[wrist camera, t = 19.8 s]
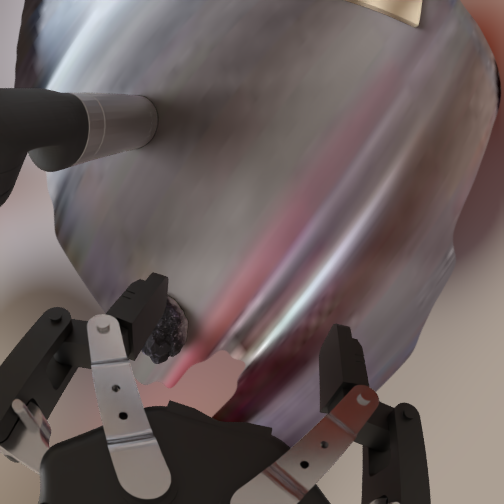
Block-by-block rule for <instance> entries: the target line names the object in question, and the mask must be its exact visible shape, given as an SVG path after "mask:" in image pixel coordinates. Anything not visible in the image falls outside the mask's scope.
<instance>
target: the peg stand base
mask: <svg viewBox="0 0 504 504" xmlns="http://www.w3.org/2000/svg"><path fill="white" fill-rule="evenodd" d="M345 1H348V2H351V3H354V4H358V5H360V6H363V7H366V8H369V9H372V10H375V11H377V12H380V13H382V14H385V15H387V16H390V17H392V18H395V19H397V20H399V21H402V22H404V23H406V24H408V25H410V26H413V27H415V28H416V27H417V26H418V25H419V19H420V13H421V6H422V0H345Z"/></svg>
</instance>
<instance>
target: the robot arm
mask: <svg viewBox="0 0 504 504" xmlns="http://www.w3.org/2000/svg"><path fill="white" fill-rule="evenodd" d="M157 123H158V117H157V112H156V109H155V107H154V105H153V104H152V102H151V101H150V100H148V99H147V98H145V97H143V96H137V95H126V94H110V93H60V92H56V91H51V90H47V89H38V88H0V206H1V205H3V204H4V203H5V201H6V200H7V199H8V197H9V195H10V194H11V192H12V190H13V187H14V185H15V182H16V180H17V177H18V175H19V172H20V169H21V167H22V165H23V162H24V160H25V157H26V155H27V153H29V156H30V158H31V159H32V161H33V162H34V164H35V165H36V166H37V167H38V168H40V169H41V170H44V171H47V172H55V171H59V170H62V169H65V168H68V167H71V166H75V165H78V164H81V163H84V162H88V161H91V160H95V159H98V158H102V157H105V156H109V155H113V154H117V153H121V152H125V151H129V150H134V149H138V148H141V147H143V146H144V145H146V144H147V143H148V142H149V141H150V140H151V139H152V137H153V136H154V134H155V132H156V128H157ZM167 291H168V277H166V276H163V275H160V274H157V273H154V272H153V273H152V274H151V275H150V276H149V277H148V278H147V280H146V281H144V280H141V279H139V280H137V281H135V282H133V283H132V284H131V285H130V286H129V287H128V288H127V289H126V291H125V292H124V293H123V294H122V295H121V296H120V297H119V299H118V300H117V301H116V302H115V303H114V304H113V306H112V307H111V308H110V309H109V310H108V312H107V313H106V314H101V315H96V316H94V317H92V318H91V319H90V320H89V321H82V320H75V319H71V315H70V313H69V312H68V311H67V310H66V309H64V308H60V307H54V308H51V309H49V310H47V311H46V312H45V313H44V314H43V315H42V316H41V317H40V318H39V319H38V320H37V322H36V323H35V324H34V325H33V326H32V327H31V329H30V330H29V331H28V332H27V333H26V334H25V336H24V337H23V338H22V339H21V340H20V342H19V343H18V344H17V345H16V347H15V348H14V349H13V350H12V352H11V353H10V354H9V356H8V357H7V358H6V359H5V361H4V362H3V363H2V365H1V366H0V453H2V454H4V455H5V456H6V457H7V458H8V459H9V460H11V461H13V462H20V463H22V464H23V465H25V466H26V467H28V468H29V469H31V470H33V471H34V472H36V473H37V474H39V475H40V497H39V502H38V504H330V502H329V501H328V500H327V498H326V497H325V496H324V494H323V493H322V491H321V490H320V489H319V487H318V486H317V485H316V483H317V482H318V481H319V480H320V479H321V478H322V477H323V476H324V474H325V473H326V472H327V471H328V470H329V469H330V468H331V467H332V466H333V465H334V464H335V462H336V461H337V460H338V459H339V457H341V455H342V454H343V453H344V452H345V451H346V449H347V448H348V447H349V446H350V444H351V443H352V442H353V441H354V442H356V443H359V444H362V445H363V475H362V503H361V504H431V501H430V487H429V477H428V467H427V459H426V451H425V445H424V438H423V432H422V426H421V420H420V415H419V412H418V411H417V409H416V408H415V407H414V406H412V405H410V404H408V403H400V404H398V405H397V406H396V407H395V408H393V407H391V406H388V405H386V404H384V403H381V402H380V401H379V398H378V395H377V393H376V392H375V391H374V390H373V389H372V388H370V387H369V383H368V377H367V371H366V365H365V360H364V357H363V356H364V355H363V349H362V346H361V345H360V343H359V342H358V340H357V339H354V338H352V335H351V329H350V327H348V326H344V325H339V324H334V325H333V326H332V328H331V330H330V332H329V334H328V336H327V337H326V339H325V341H324V343H323V345H322V347H321V350H320V354H319V375H320V412H321V413H328V414H327V415H326V416H325V417H324V418H323V419H322V420H321V421H320V422H319V423H318V424H317V425H315V426H314V427H313V428H312V429H311V430H310V431H309V432H308V433H307V434H306V435H305V436H304V437H303V438H302V439H301V440H300V441H298V442H297V443H296V444H295V445H294V446H293V447H292V448H290V447H289V446H288V445H286V444H285V443H284V442H283V441H281V440H280V439H278V438H276V437H275V436H272V435H271V433H272V428H270V427H265V426H260V425H255V424H251V423H241V422H220V421H217V420H215V419H213V418H211V417H209V416H207V415H205V414H204V413H202V412H200V411H198V410H196V409H195V408H192V407H188V406H185V405H182V404H179V403H176V402H173V401H169V403H168V406H167V407H165V406H152V407H146V408H143V404H142V402H141V398H140V395H139V392H138V389H137V385H136V382H135V379H134V375H133V372H132V368H131V365H130V361H129V359H131V360H133V361H135V359H136V358H137V356H138V354H139V353H140V351H141V349H142V348H143V346H144V344H145V343H146V341H147V339H148V338H149V336H150V335H151V333H152V331H153V330H154V328H155V326H156V325H157V323H158V321H159V320H160V318H161V317H162V315H163V313H164V311H165V308H166V303H167ZM127 358H128V359H127ZM78 367H82V368H88V369H92V375H93V381H94V386H95V392H96V396H97V401H98V406H99V410H100V415H101V419H102V423H103V426H100V427H98V428H96V429H93V430H91V431H88V432H86V433H83V434H81V435H78V436H76V437H73V438H71V439H68V440H65V441H62V442H60V443H57V444H55V445H54V446H52V447H49V439H50V436H51V427H50V424H49V423H48V421H47V419H48V418H49V416H50V414H51V412H52V411H53V409H54V407H55V405H56V404H57V402H58V400H59V398H60V397H61V395H62V393H63V392H64V390H65V388H66V387H67V385H68V383H69V382H70V380H71V378H72V377H73V375H74V373H75V372H76V370H77V368H78Z"/></svg>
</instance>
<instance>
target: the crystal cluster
mask: <svg viewBox="0 0 504 504" xmlns="http://www.w3.org/2000/svg"><path fill="white" fill-rule="evenodd" d="M187 329H188V320H187V318H186V317H185V315H184V312H183V311H182V310H181V309H180V306H179V305H178V304H177V302H176V301H175V300H174V299H172V298H171V297H169V296H167V303H166V308H165V311H164V313H163V315H162V317H161V318H160V320H159V321H158V323H157V325H156V326H155V328H154V330H153V331H152V333H151V335H150V336H149V338H148V339H147V341H146V343H145V344H144V346H143V348H142V349H141V350H142V352H143V354H145V355H148V356H150V358H151V360H152V361H153V363H155V364H160V363H162V362H164V361H166V360H167V359H168V357H169V356H171V357H174V356H175V355H177V354H178V353H179V352H180V350H181V349H182V347H183V345H184V343H185V342H186V340H187Z"/></svg>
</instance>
